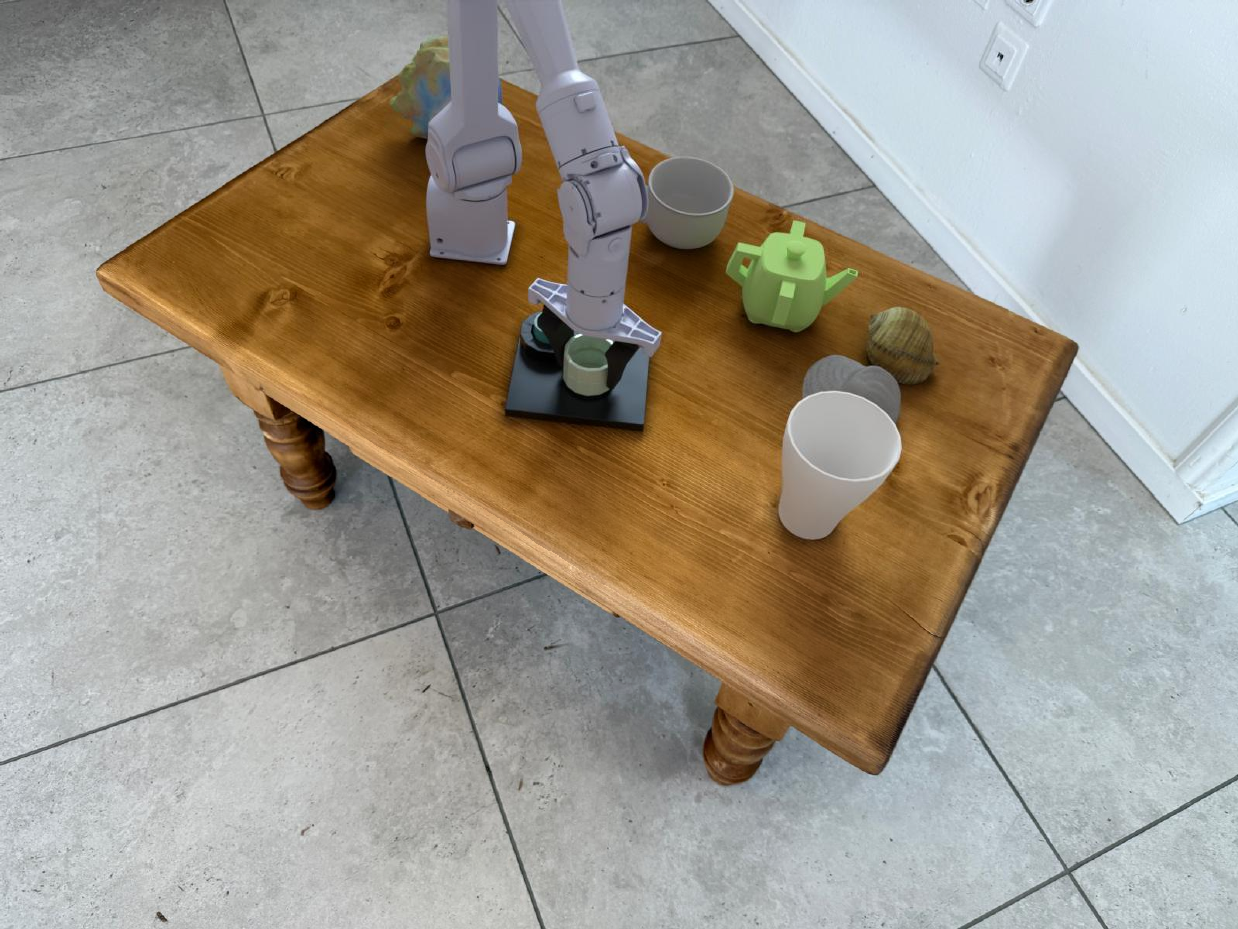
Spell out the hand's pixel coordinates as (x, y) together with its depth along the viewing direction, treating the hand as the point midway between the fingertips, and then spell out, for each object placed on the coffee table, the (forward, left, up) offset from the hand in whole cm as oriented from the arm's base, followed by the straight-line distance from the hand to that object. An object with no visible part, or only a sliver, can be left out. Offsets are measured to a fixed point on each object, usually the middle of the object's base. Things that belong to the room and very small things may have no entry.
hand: (589, 371), depth 97 cm
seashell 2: (+36, +10, -3) cm, 37 cm away
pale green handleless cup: (0, 0, -1) cm, 1 cm away
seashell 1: (+29, 0, -3) cm, 29 cm away
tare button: (-5, +5, 0) cm, 7 cm away
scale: (-1, +1, -3) cm, 3 cm away
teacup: (+8, +28, -3) cm, 29 cm away
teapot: (+22, +16, -3) cm, 27 cm away
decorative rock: (-24, +44, -3) cm, 50 cm away
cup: (+24, -14, -3) cm, 28 cm away
